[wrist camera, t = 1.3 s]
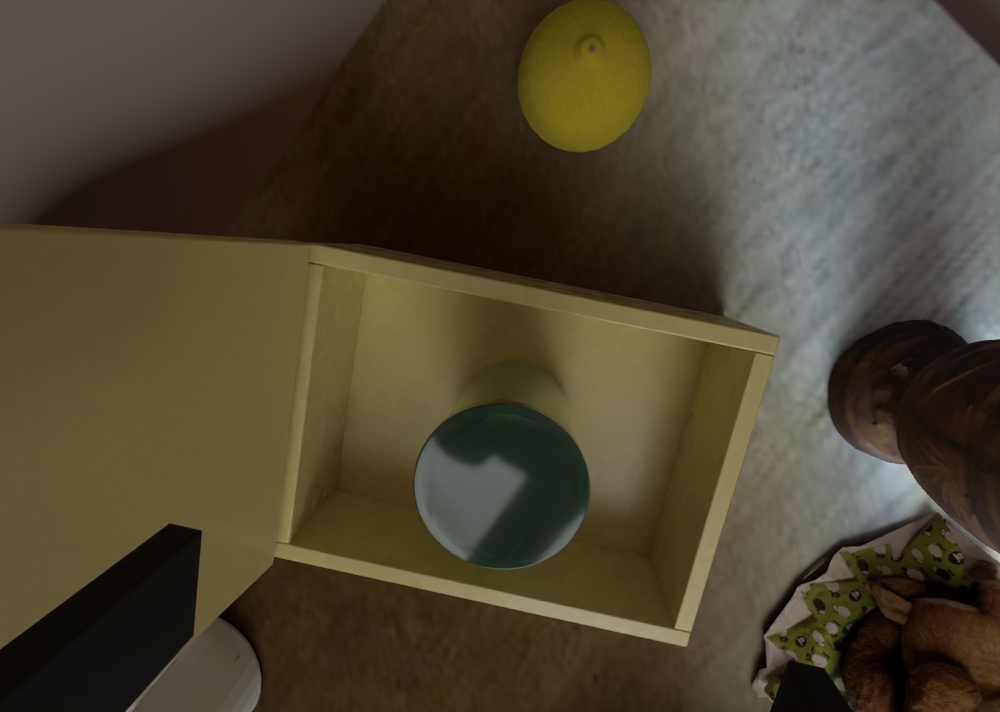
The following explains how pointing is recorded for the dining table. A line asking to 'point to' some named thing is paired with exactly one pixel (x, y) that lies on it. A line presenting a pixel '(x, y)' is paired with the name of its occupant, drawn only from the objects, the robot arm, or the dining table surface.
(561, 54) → the lemon
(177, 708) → the mug
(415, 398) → the open rectangular box
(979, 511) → the mortar and pestle
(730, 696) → the dining table surface
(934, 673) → the bear figurine
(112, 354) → the lid
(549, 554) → the green can
